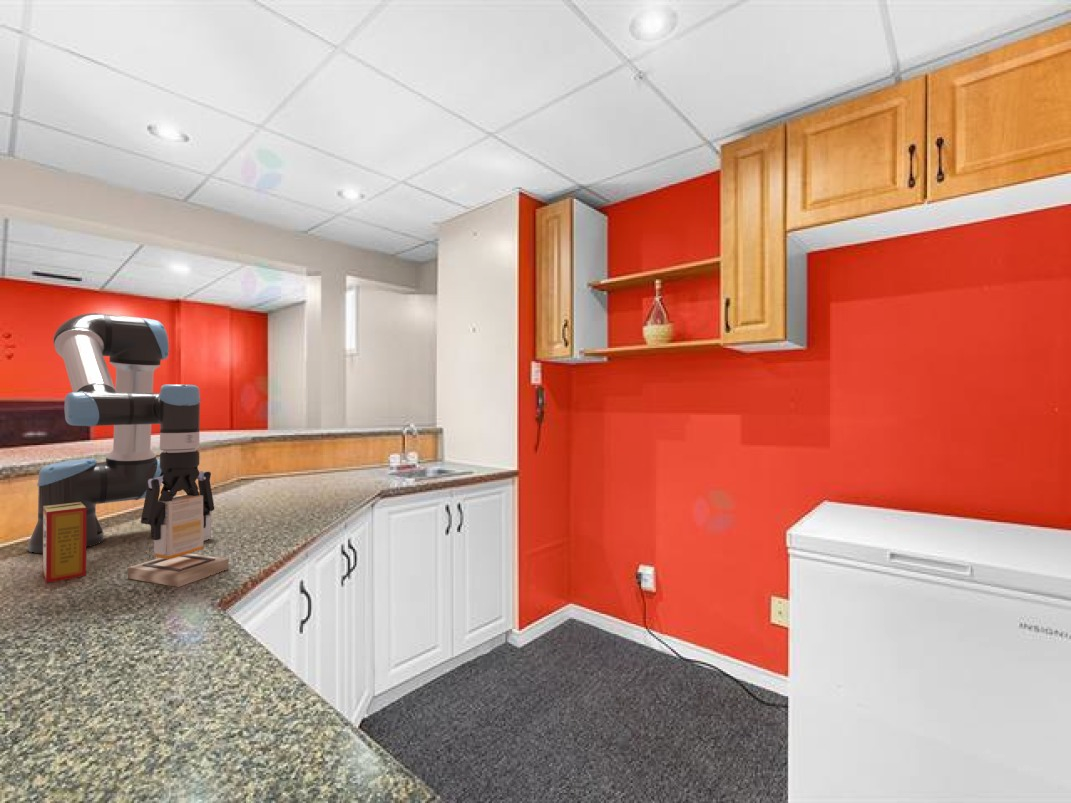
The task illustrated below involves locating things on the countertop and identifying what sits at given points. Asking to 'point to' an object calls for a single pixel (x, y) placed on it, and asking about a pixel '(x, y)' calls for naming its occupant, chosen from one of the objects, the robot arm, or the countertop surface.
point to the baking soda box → (64, 541)
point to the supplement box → (183, 525)
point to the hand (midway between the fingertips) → (179, 547)
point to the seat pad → (178, 569)
